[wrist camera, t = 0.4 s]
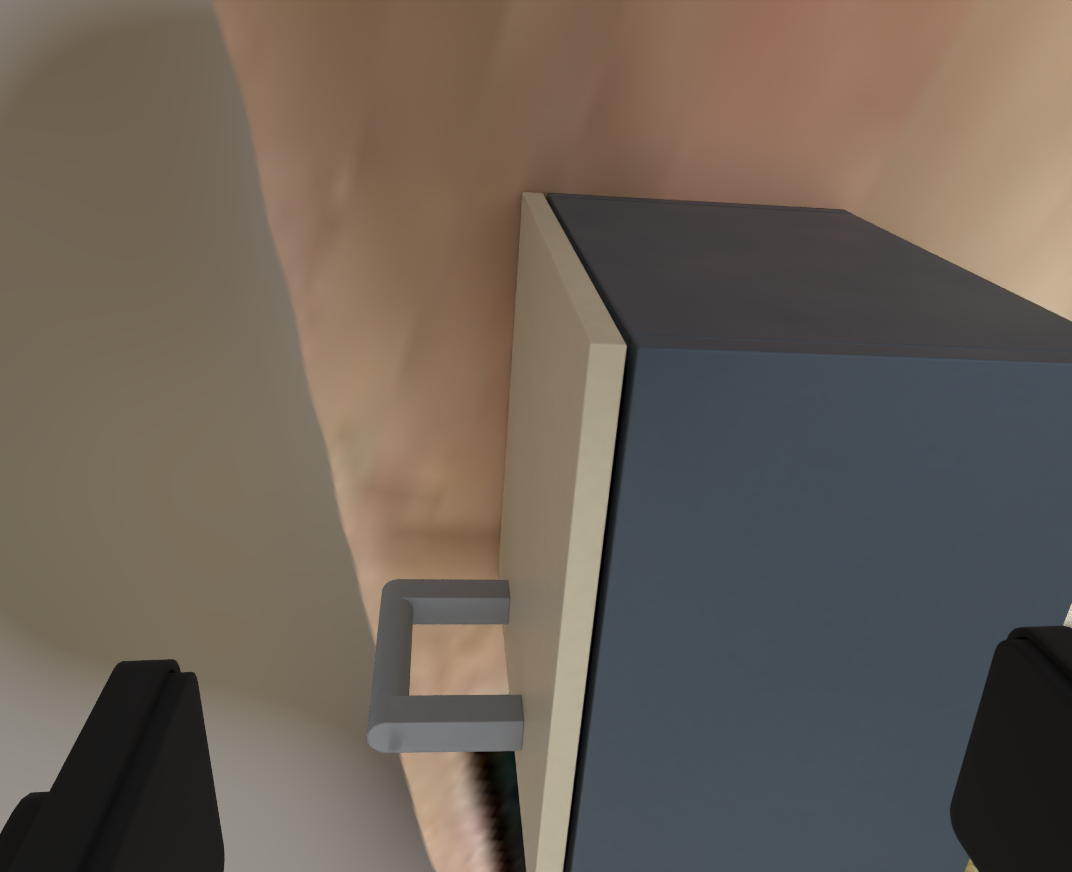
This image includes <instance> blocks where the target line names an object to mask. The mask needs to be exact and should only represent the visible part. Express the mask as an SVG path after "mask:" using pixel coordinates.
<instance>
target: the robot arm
mask: <svg viewBox="0 0 1072 872" xmlns="http://www.w3.org/2000/svg"><path fill="white" fill-rule="evenodd" d="M950 819H951V824H952V827H953V830H954V833H955V835H956V837H957V839H958V840H959V842H960V844H961V845H962V847H963V848H964V850H965V851H966V853H967V854H968V856H969V857H970V859H971V861H972V862H973V864H974V865H975V867H976V868H977V870H978V871H979V872H1072V629H1071V628H1070V627H1066V626H1036V627H1019V628H1015V629H1013V630H1012V631H1011V632H1010V633H1009V635H1008V637H1007V639H1006V640H1004V641H1001V642H1000V643H999V644H998V645H997V647H996V649H995V652H994V655H993V659H992V662H991V665H990V669H989V672H988V676H987V679H986V683H985V686H984V690H983V693H982V697H981V700H980V704H979V707H978V711H977V714H976V717H975V721H974V724H973V728H972V731H971V735H970V738H969V742H968V745H967V749H966V752H965V756H964V759H963V763H962V766H961V770H960V773H959V776H958V780H957V783H956V787H955V790H954V794H953V797H952V801H951V805H950ZM223 871H224V844H223V838H222V832H221V826H220V819H219V813H218V807H217V800H216V793H215V787H214V781H213V775H212V769H211V762H210V756H209V750H208V743H207V737H206V730H205V725H204V718H203V711H202V705H201V699H200V692H199V686H198V681H197V677H196V675H195V673H193V672H184V673H183V672H181V671H180V668H179V665H178V663H177V661H175V660H173V659H171V660H170V659H168V660H141V661H122V662H120V663H118V664H117V665H116V667H115V668H114V670H113V671H112V673H111V675H110V677H109V679H108V681H107V683H106V685H105V687H104V689H103V690H102V692H101V694H100V696H99V698H98V700H97V702H96V704H95V706H94V708H93V710H92V712H91V713H90V715H89V717H88V719H87V721H86V723H85V725H84V727H83V729H82V731H81V733H80V734H79V736H78V738H77V740H76V742H75V744H74V746H73V748H72V750H71V751H70V754H69V755H68V757H67V759H66V761H65V763H64V765H63V767H62V769H61V771H60V773H59V774H58V777H57V778H56V780H55V782H54V784H53V786H52V788H51V790H50V791H49V792H35V793H30V794H28V795H27V796H26V797H24V798H23V799H21V801H20V802H19V804H18V805H17V806H16V808H15V809H14V811H13V812H12V814H11V816H10V817H9V819H8V821H7V823H6V824H5V826H4V828H3V830H2V832H1V834H0V872H223Z"/></svg>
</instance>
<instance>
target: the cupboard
mask: <svg viewBox="0 0 1072 872" xmlns="http://www.w3.org/2000/svg"><path fill="white" fill-rule="evenodd" d="M547 202H548V204H549V206H550V207H551V209H552V211H553V213H554V215H555V216H556V218H557V220H558V222H559V224H560V225H561V227H562V229H563V231H564V233H565V235H566V236H567V238H568V240H569V242H570V244H571V245H572V247H573V249H574V251H575V253H576V254H577V256H578V258H579V260H580V262H581V264H582V265H583V267H584V269H585V271H586V273H587V274H588V276H589V278H590V280H591V282H592V283H593V285H594V287H595V289H596V291H597V292H598V294H599V296H600V298H601V300H602V302H603V303H604V305H605V307H606V309H607V311H608V312H609V314H610V316H611V318H612V320H613V321H614V323H615V325H616V327H617V329H618V331H619V332H620V334H621V336H622V338H623V340H624V341H625V343H626V345H627V350H626V358H625V367H624V375H623V383H622V391H621V399H620V408H619V416H618V424H617V432H616V440H615V449H614V457H613V465H612V473H611V482H610V490H609V498H608V506H607V514H606V523H605V531H604V539H603V547H602V555H601V564H600V572H599V580H598V588H597V596H596V605H595V613H594V621H593V629H592V637H591V646H590V654H589V662H588V670H587V678H586V687H585V695H584V703H583V711H582V719H581V728H580V736H579V744H578V752H577V761H576V769H575V777H574V785H573V793H572V802H571V810H570V818H569V826H568V834H567V843H566V851H565V859H564V867H563V872H965V870H966V867H967V865H968V862H969V860H970V857H969V856H968V854H967V853H966V851H965V850H964V848H963V847H962V845H961V844H960V842H959V840H958V839H957V837H956V835H955V833H954V830H953V827H952V824H951V819H950V805H951V801H952V797H953V794H954V790H955V787H956V783H957V780H958V776H959V773H960V770H961V766H962V763H963V759H964V756H965V752H966V749H967V745H968V742H969V738H970V735H971V731H972V728H973V724H974V721H975V717H976V714H977V711H978V707H979V704H980V700H981V697H982V693H983V690H984V686H985V683H986V679H987V676H988V672H989V669H990V665H991V662H992V659H993V655H994V652H995V649H996V647H997V645H998V644H999V643H1000V642H1001V641H1004V640H1006V639H1007V637H1008V635H1009V633H1010V632H1011V631H1012V630H1013V629H1015V628H1019V627H1036V626H1063V624H1064V621H1065V619H1066V616H1067V614H1068V611H1069V609H1070V606H1071V603H1072V322H1071V321H1069V320H1067V319H1065V318H1063V317H1061V316H1059V315H1057V314H1055V313H1053V312H1051V311H1049V310H1047V309H1045V308H1043V307H1041V306H1039V305H1037V304H1035V303H1033V302H1031V301H1029V300H1027V299H1025V298H1022V297H1020V296H1018V295H1016V294H1014V293H1012V292H1010V291H1008V290H1006V289H1004V288H1002V287H1000V286H998V285H996V284H994V283H992V282H990V281H988V280H986V279H984V278H982V277H980V276H978V275H976V274H974V273H971V272H969V271H967V270H965V269H963V268H961V267H959V266H957V265H955V264H953V263H951V262H949V261H947V260H945V259H943V258H941V257H939V256H937V255H935V254H933V253H931V252H929V251H927V250H925V249H923V248H920V247H918V246H916V245H914V244H912V243H910V242H908V241H906V240H904V239H902V238H900V237H898V236H896V235H894V234H892V233H890V232H888V231H886V230H884V229H882V228H880V227H878V226H876V225H874V224H872V223H869V222H867V221H865V220H863V219H861V218H859V217H857V216H855V215H853V214H852V213H850V212H848V211H846V210H839V209H822V208H804V207H787V206H769V205H751V204H734V203H716V202H699V201H681V200H664V199H646V198H629V197H611V196H594V195H576V194H559V193H548V201H547Z"/></svg>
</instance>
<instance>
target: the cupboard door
mask: <svg viewBox="0 0 1072 872" xmlns="http://www.w3.org/2000/svg"><path fill="white" fill-rule="evenodd" d="M626 350H627V345H626V343H625V341H624V340H623V338H622V336H621V334H620V332H619V331H618V329H617V327H616V325H615V323H614V321H613V320H612V318H611V316H610V314H609V312H608V311H607V309H606V307H605V305H604V303H603V302H602V300H601V298H600V296H599V294H598V292H597V291H596V289H595V287H594V285H593V283H592V282H591V280H590V278H589V276H588V274H587V273H586V271H585V269H584V267H583V265H582V264H581V262H580V260H579V258H578V256H577V254H576V253H575V251H574V249H573V247H572V245H571V244H570V242H569V240H568V238H567V236H566V235H565V233H564V231H563V229H562V227H561V225H560V224H559V222H558V220H557V218H556V216H555V215H554V213H553V211H552V209H551V207H550V206H549V204H548V202H547V200H546V198H545V197H544V195H543V193H531V192H523V193H522V208H521V224H520V239H519V255H518V271H517V286H516V302H515V317H514V333H513V349H512V364H511V380H510V395H509V411H508V427H507V442H506V458H505V473H504V489H503V505H502V520H501V536H500V551H499V567H498V580H427V579H397V580H392V581H390V582H388V583H387V584H386V585H385V586H384V587H383V590H382V597H381V606H380V616H379V625H378V635H377V644H376V653H375V663H374V672H373V682H372V691H371V700H370V710H369V719H368V729H367V742H368V744H369V745H370V746H371V747H372V748H373V749H374V750H376V751H379V752H383V753H408V752H469V751H515V758H516V768H517V779H518V789H519V799H520V810H521V820H522V830H523V841H524V851H525V861H526V872H563V867H564V859H565V851H566V843H567V834H568V826H569V818H570V810H571V802H572V793H573V785H574V777H575V769H576V761H577V752H578V744H579V736H580V728H581V719H582V711H583V703H584V695H585V687H586V678H587V670H588V662H589V654H590V646H591V637H592V629H593V621H594V613H595V605H596V596H597V588H598V580H599V572H600V564H601V555H602V547H603V539H604V531H605V523H606V514H607V506H608V498H609V490H610V482H611V473H612V465H613V457H614V449H615V440H616V432H617V424H618V416H619V408H620V399H621V391H622V383H623V375H624V367H625V358H626ZM413 624H503V634H504V644H505V654H506V665H507V675H508V685H509V695H433V696H409V686H410V666H411V646H412V627H413Z"/></svg>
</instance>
